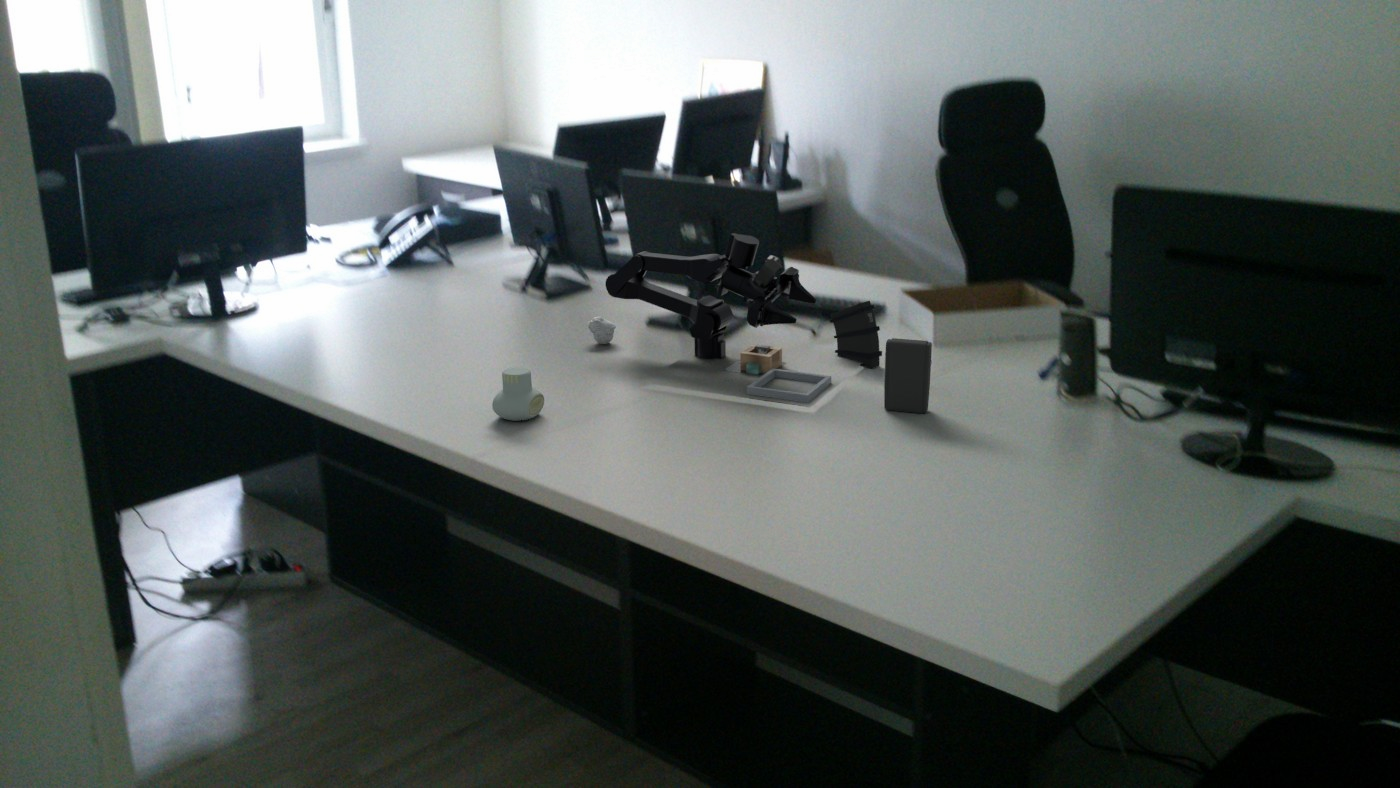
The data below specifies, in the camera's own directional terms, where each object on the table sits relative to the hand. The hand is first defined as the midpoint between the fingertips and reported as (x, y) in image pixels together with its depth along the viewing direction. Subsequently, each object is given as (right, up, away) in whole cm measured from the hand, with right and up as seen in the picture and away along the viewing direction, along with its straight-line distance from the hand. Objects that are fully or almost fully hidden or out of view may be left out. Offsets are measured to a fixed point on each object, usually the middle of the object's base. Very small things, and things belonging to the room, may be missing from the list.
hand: (805, 311), depth 267 cm
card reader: (+19, -22, -19) cm, 35 cm away
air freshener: (-61, -23, -18) cm, 68 cm away
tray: (-4, -18, -7) cm, 20 cm away
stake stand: (-11, -13, +8) cm, 19 cm away
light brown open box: (-10, -12, +7) cm, 17 cm away
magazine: (+13, -11, +13) cm, 21 cm away
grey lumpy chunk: (-48, -6, +30) cm, 57 cm away
